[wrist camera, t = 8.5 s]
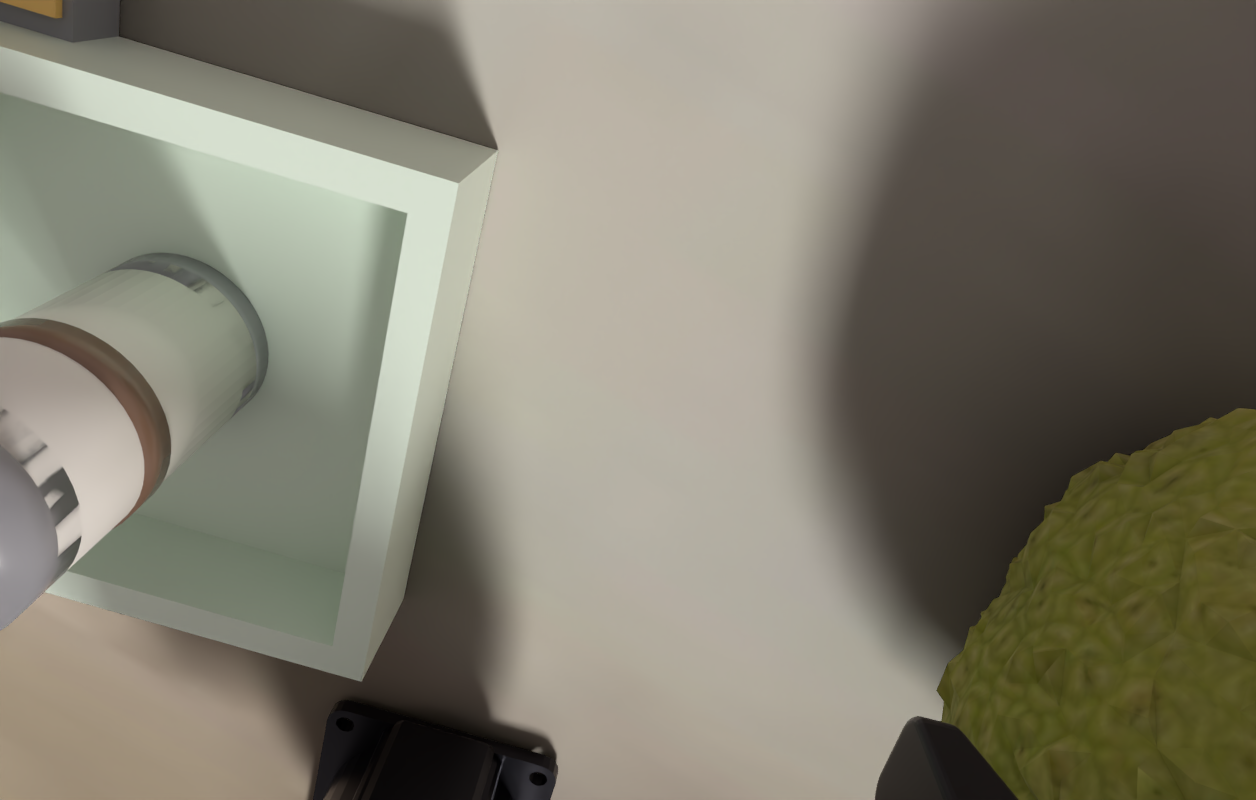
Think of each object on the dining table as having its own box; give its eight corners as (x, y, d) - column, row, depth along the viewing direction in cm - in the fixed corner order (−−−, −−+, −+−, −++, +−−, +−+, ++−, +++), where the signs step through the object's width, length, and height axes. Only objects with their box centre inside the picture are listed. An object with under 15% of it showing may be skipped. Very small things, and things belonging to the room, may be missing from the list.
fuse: (261, 440, 22) (36, 673, 15) (92, 391, 22) (-216, 601, 15) (279, 281, 21) (34, 458, 13) (95, 227, 20) (-252, 377, 13)
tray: (403, 599, 25) (361, 681, 22) (-48, 470, 24) (-149, 537, 22) (498, 150, 19) (459, 183, 17) (-74, -22, 19) (-212, -17, 16)
